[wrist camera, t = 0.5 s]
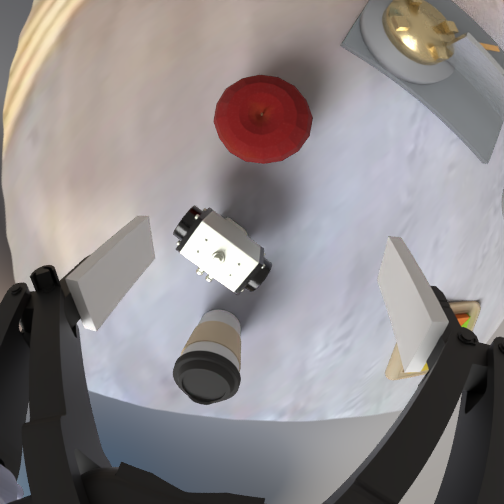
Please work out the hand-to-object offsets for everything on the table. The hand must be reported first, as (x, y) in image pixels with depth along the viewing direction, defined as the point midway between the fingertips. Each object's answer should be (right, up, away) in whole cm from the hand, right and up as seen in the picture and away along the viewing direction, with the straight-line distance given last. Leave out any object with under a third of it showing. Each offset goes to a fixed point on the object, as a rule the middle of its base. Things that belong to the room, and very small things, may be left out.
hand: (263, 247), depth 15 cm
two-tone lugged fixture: (+30, +27, +12) cm, 42 cm away
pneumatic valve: (-4, +2, +27) cm, 27 cm away
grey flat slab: (+32, +33, +14) cm, 48 cm away
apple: (+1, +17, +22) cm, 28 cm away
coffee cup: (-6, -13, +32) cm, 35 cm away
